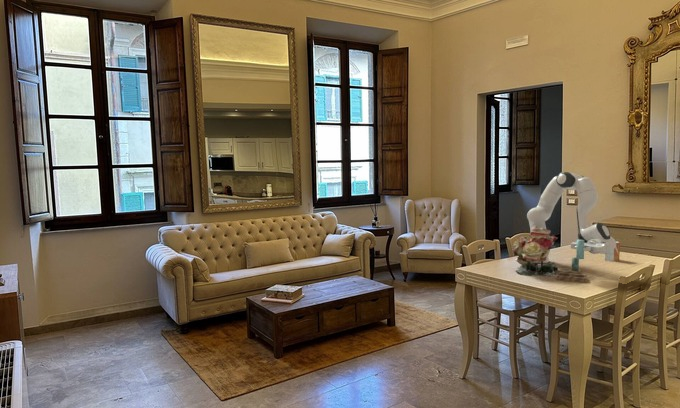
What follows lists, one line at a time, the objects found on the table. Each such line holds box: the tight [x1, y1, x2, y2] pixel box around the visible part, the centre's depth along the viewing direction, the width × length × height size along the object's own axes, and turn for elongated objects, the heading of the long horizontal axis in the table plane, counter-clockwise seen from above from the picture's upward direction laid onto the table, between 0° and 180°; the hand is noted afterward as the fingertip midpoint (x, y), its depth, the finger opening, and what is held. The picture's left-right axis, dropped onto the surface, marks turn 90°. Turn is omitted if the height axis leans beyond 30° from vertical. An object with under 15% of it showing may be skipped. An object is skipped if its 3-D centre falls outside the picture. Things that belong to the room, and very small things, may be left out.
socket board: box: [556, 271, 588, 284], centre depth 286 cm, size 16×10×2 cm, turn 61°
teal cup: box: [558, 257, 582, 274], centre depth 298 cm, size 12×7×10 cm, turn 61°
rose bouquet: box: [510, 226, 559, 277], centre depth 305 cm, size 26×29×30 cm
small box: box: [604, 241, 621, 262], centre depth 336 cm, size 8×6×13 cm
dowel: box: [575, 239, 585, 260], centre depth 282 cm, size 4×4×11 cm
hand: (579, 248), depth 282 cm, fingers closed on dowel, 4 cm apart
